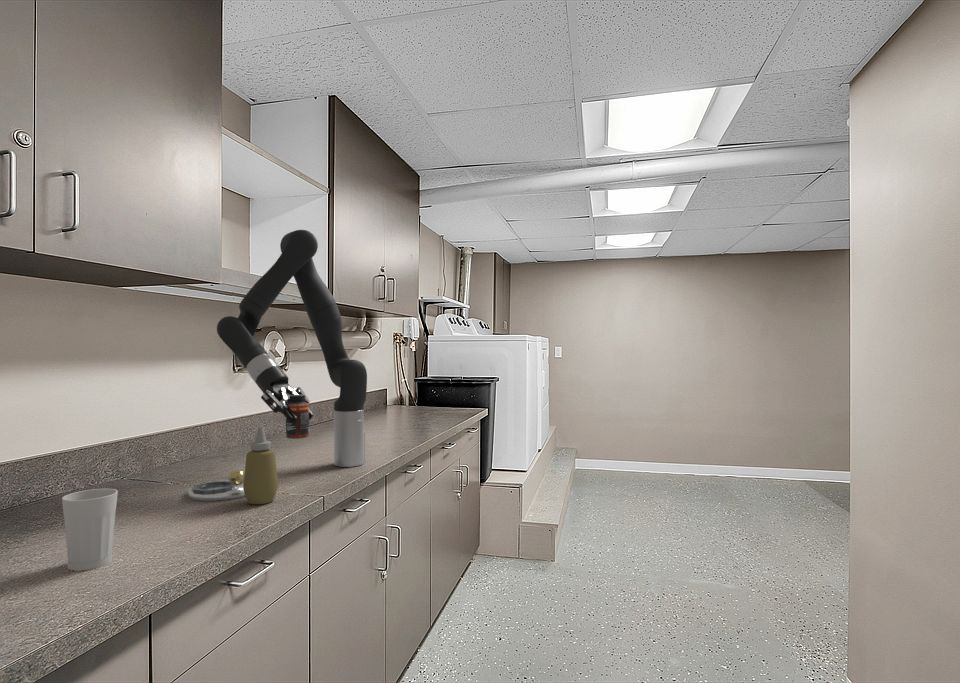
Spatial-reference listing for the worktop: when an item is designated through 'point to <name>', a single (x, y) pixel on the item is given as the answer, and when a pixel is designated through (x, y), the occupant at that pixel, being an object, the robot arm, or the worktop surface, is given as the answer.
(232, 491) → the carrier disc
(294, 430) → the supplement bottle
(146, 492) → the worktop surface
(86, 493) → the cup
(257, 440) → the squeeze bottle
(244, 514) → the worktop surface
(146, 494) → the worktop surface
